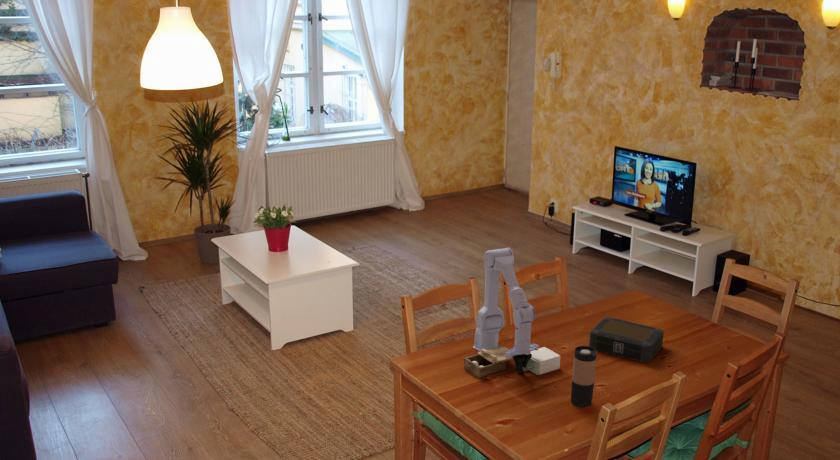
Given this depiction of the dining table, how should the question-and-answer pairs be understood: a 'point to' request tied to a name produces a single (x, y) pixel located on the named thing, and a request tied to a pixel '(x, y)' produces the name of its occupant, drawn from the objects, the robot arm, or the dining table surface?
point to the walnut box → (482, 371)
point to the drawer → (532, 366)
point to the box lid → (495, 354)
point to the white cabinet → (546, 359)
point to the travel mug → (583, 376)
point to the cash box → (626, 339)
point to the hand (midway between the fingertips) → (520, 371)
